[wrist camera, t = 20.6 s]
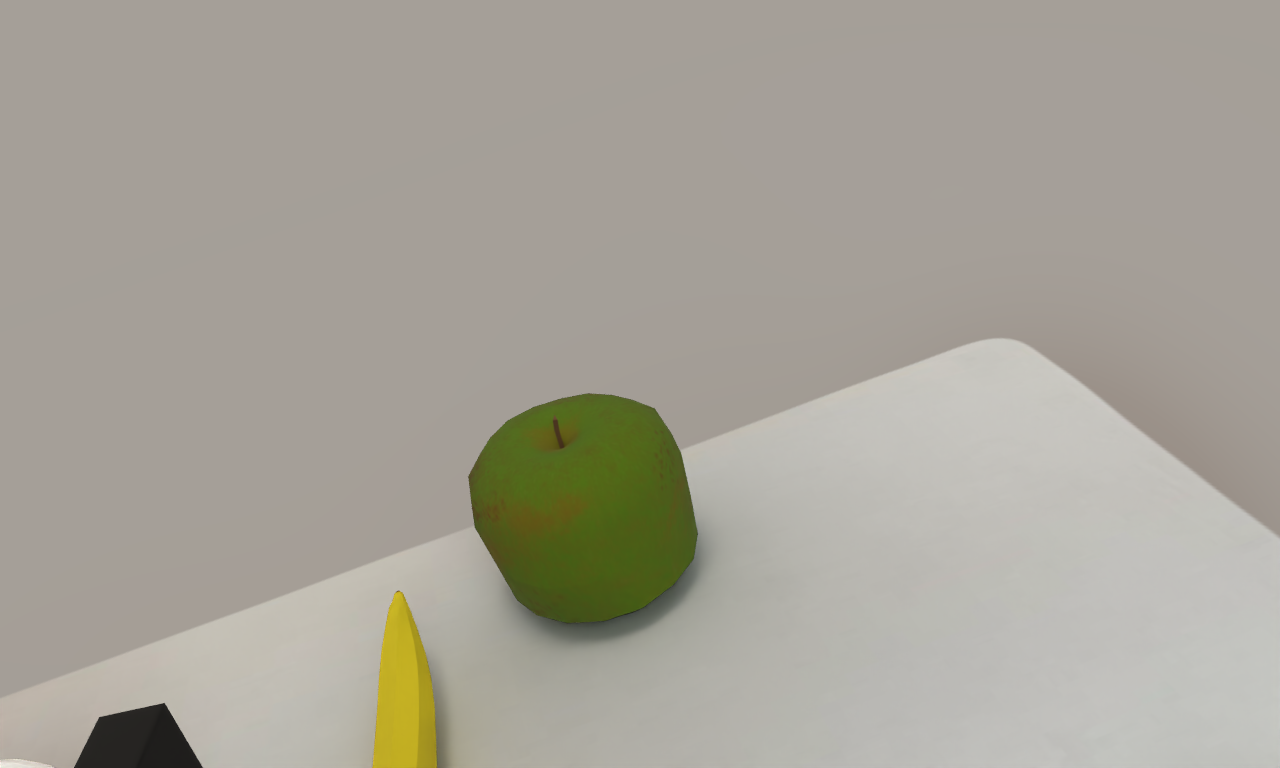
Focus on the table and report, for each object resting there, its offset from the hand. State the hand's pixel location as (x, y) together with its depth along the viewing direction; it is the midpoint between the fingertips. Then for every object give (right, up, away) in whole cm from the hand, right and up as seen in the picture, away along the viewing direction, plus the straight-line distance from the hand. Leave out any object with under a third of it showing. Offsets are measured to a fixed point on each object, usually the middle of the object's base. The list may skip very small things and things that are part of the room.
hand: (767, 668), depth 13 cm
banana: (-11, -16, +39) cm, 44 cm away
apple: (-3, -8, +50) cm, 50 cm away
